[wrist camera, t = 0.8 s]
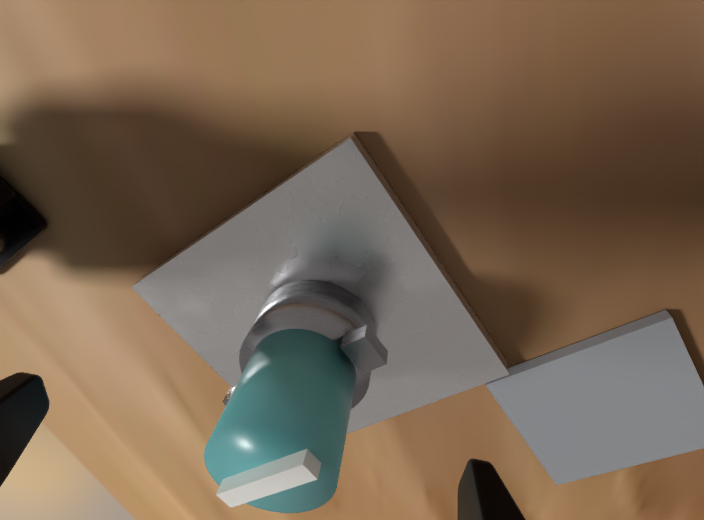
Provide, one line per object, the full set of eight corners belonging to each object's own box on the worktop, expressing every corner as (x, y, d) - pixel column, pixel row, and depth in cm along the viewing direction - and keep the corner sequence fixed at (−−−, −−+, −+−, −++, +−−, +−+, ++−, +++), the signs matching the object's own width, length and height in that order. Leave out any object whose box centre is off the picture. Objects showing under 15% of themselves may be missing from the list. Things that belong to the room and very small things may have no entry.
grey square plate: (300, 438, 28) (279, 511, 24) (141, 276, 24) (81, 333, 19) (506, 360, 23) (524, 437, 19) (353, 132, 18) (333, 166, 14)
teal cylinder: (295, 421, 21) (258, 540, 17) (230, 354, 20) (168, 463, 15) (377, 388, 20) (362, 511, 15) (313, 312, 18) (272, 421, 13)
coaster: (554, 476, 27) (556, 485, 26) (484, 376, 24) (485, 385, 23) (722, 431, 23) (729, 441, 23) (665, 309, 20) (672, 317, 20)
